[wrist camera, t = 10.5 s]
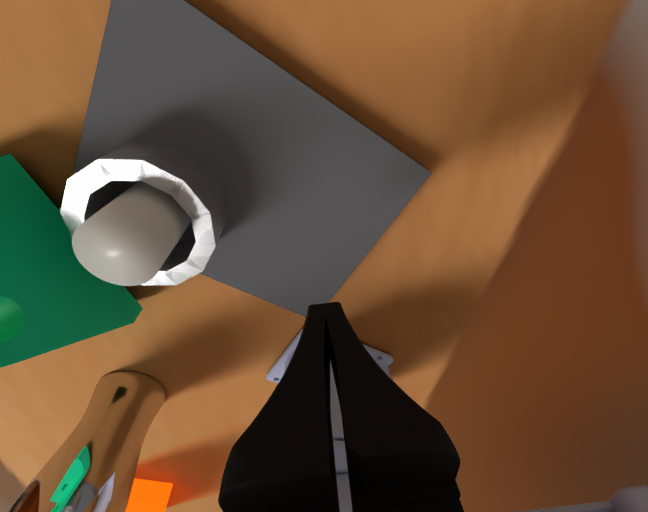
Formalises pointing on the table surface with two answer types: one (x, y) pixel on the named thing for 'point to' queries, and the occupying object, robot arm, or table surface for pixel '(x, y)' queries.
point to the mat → (249, 150)
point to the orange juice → (149, 496)
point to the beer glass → (98, 450)
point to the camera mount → (47, 277)
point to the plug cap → (131, 235)
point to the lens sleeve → (167, 175)
